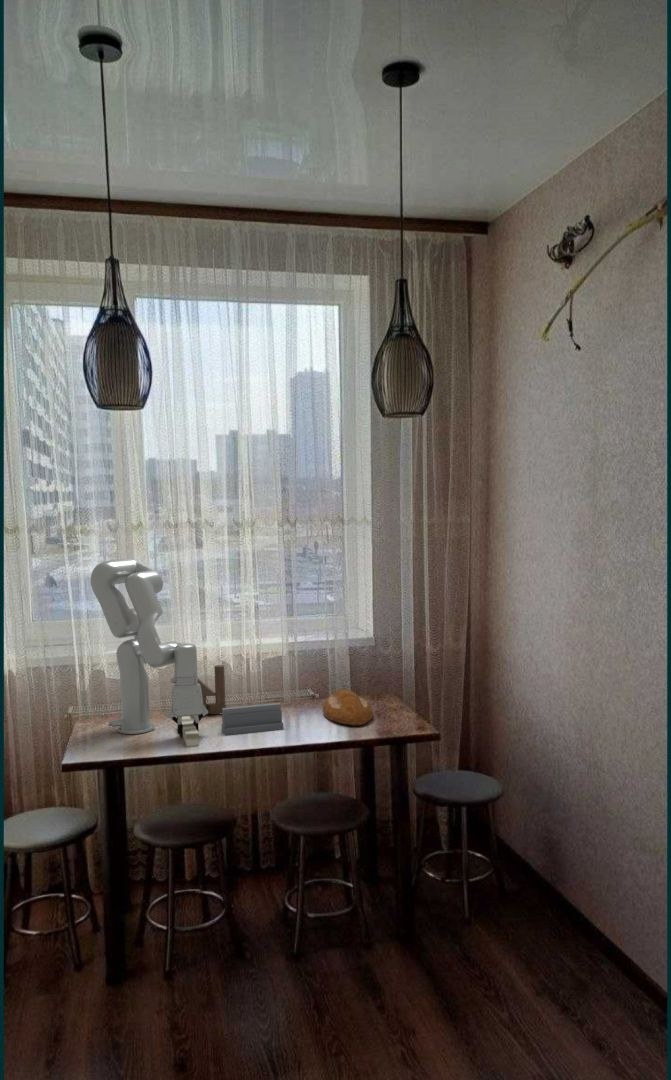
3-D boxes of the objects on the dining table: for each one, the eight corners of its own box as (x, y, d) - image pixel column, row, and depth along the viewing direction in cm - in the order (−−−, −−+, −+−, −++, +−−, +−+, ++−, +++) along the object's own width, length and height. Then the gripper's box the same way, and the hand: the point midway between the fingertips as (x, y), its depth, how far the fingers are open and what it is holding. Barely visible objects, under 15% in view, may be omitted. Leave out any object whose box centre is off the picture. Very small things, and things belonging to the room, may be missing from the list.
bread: (361, 703, 326) (361, 680, 326) (381, 726, 292) (381, 701, 291) (316, 706, 324) (316, 683, 323) (331, 730, 289) (330, 704, 288)
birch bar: (199, 745, 274) (198, 733, 274) (186, 746, 273) (186, 734, 273) (189, 727, 297) (189, 716, 297) (178, 728, 296) (177, 717, 296)
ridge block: (225, 735, 285) (224, 711, 285) (221, 729, 292) (220, 706, 292) (283, 729, 291) (282, 706, 290) (278, 723, 298) (277, 701, 298)
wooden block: (196, 713, 316) (195, 665, 315) (226, 712, 317) (224, 664, 316) (196, 716, 312) (195, 667, 311) (226, 714, 313) (224, 666, 313)
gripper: (162, 685, 278) (164, 740, 279) (212, 680, 283) (214, 735, 284) (159, 680, 286) (162, 734, 286) (209, 676, 290) (211, 729, 291)
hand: (188, 734), depth 285 cm, fingers closed on birch bar, 4 cm apart
